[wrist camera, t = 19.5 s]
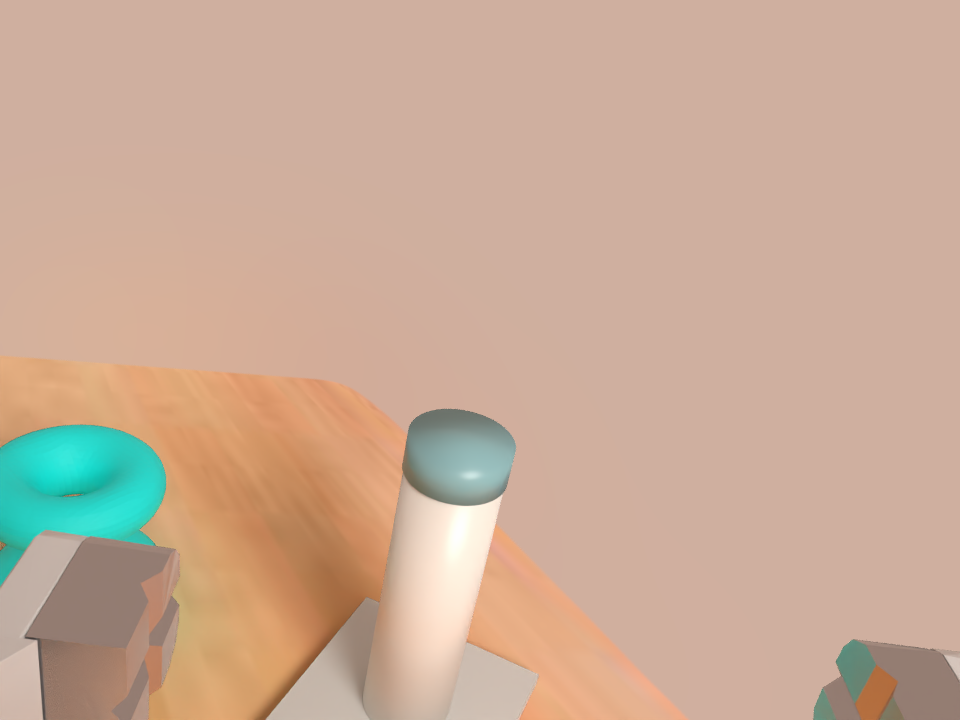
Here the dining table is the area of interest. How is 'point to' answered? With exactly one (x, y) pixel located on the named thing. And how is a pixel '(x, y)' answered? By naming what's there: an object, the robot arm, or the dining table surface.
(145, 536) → the donuts
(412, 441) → the cylinder
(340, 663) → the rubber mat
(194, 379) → the dining table surface
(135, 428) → the dining table surface
